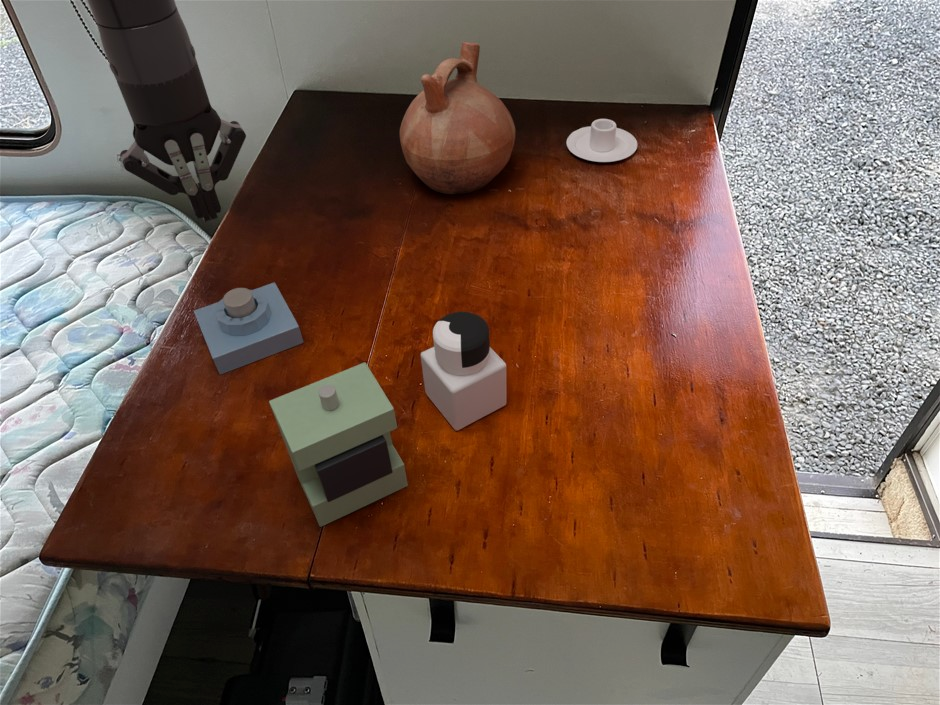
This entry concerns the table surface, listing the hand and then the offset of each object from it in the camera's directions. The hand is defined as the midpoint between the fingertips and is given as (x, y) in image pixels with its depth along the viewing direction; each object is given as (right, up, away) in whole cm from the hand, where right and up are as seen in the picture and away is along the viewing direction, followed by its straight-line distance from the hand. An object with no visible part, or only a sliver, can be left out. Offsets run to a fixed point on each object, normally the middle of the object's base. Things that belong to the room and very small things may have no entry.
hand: (209, 216), depth 79 cm
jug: (+27, +14, +38) cm, 49 cm away
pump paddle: (+18, -28, -8) cm, 35 cm away
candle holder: (+52, +20, +43) cm, 70 cm away
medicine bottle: (+29, -21, +5) cm, 36 cm away
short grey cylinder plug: (0, -10, +10) cm, 14 cm away
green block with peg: (+17, -30, -3) cm, 34 cm away
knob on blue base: (0, -13, +14) cm, 19 cm away
